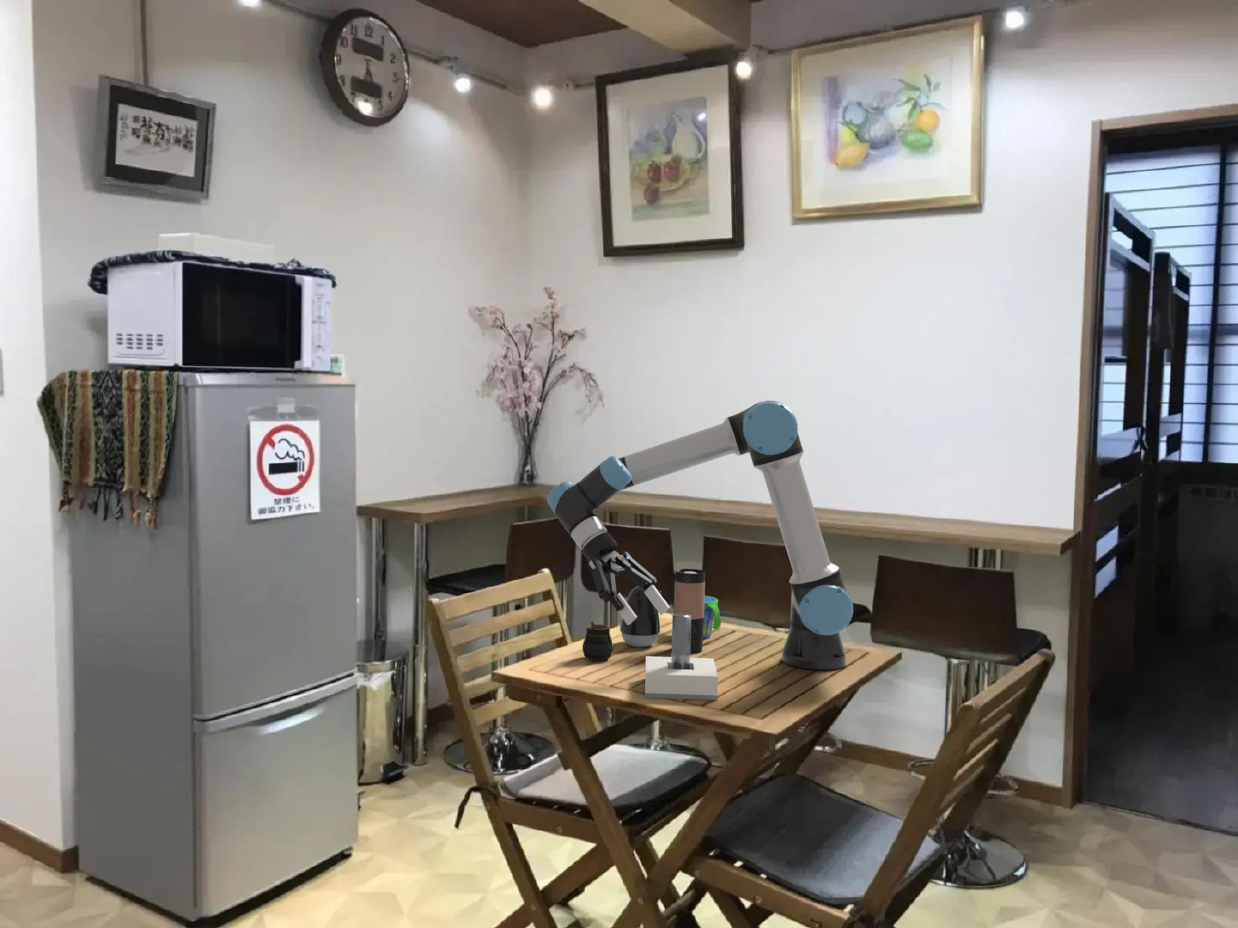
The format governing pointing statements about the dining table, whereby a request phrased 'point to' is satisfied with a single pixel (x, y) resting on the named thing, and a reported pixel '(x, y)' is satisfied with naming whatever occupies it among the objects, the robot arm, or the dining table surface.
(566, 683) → the dining table surface
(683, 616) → the pin
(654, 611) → the pump dispenser
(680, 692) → the hole block
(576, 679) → the dining table surface
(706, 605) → the snack cup
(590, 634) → the mate gourd
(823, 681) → the dining table surface
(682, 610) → the travel mug
